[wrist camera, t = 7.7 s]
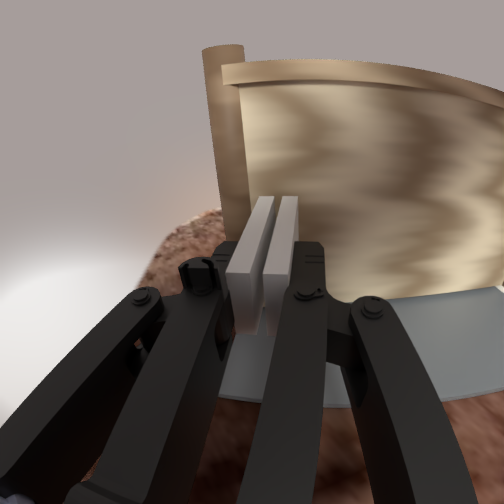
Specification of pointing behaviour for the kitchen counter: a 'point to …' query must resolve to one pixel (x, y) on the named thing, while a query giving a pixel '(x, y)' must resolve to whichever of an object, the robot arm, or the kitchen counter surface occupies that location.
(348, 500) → the kitchen counter surface
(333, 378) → the card
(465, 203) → the fence panel
